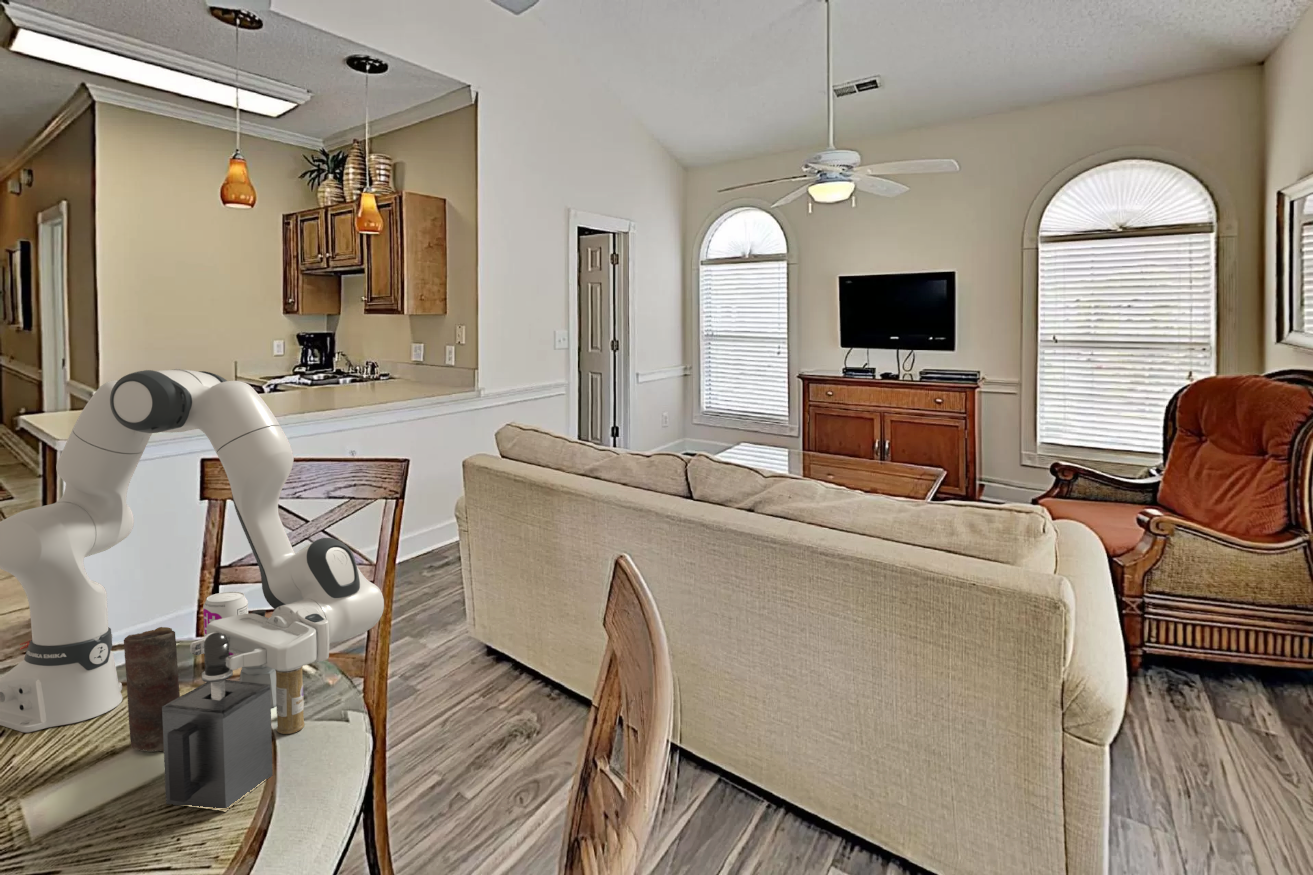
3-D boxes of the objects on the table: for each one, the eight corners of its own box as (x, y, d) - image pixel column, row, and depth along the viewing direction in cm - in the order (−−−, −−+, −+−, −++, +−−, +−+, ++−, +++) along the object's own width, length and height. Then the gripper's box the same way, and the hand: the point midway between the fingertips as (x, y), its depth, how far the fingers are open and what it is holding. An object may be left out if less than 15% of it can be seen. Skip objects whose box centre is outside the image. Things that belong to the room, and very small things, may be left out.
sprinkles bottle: (306, 730, 132) (305, 657, 131) (277, 737, 130) (276, 663, 128) (302, 720, 136) (301, 649, 135) (274, 726, 133) (272, 654, 132)
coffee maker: (291, 709, 140) (289, 616, 138) (238, 720, 135) (235, 624, 133) (280, 680, 152) (278, 595, 151) (230, 690, 147) (228, 602, 146)
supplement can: (218, 675, 154) (216, 605, 152) (197, 666, 158) (195, 597, 157) (257, 662, 161) (255, 595, 159) (236, 654, 165) (234, 588, 164)
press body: (147, 816, 107) (143, 716, 105) (216, 767, 119) (213, 678, 118) (209, 825, 105) (205, 724, 103) (272, 775, 118) (270, 684, 116)
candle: (125, 760, 121) (119, 641, 119) (132, 740, 127) (127, 627, 125) (180, 750, 124) (176, 635, 123) (185, 731, 131) (181, 621, 129)
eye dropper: (178, 782, 110) (173, 639, 108) (217, 756, 118) (212, 622, 116) (224, 788, 109) (219, 644, 107) (260, 761, 117) (256, 626, 114)
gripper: (257, 599, 128) (171, 622, 116) (334, 623, 118) (249, 650, 106) (257, 634, 128) (172, 661, 116) (334, 661, 118) (250, 693, 106)
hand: (210, 656), depth 111 cm, fingers open, 8 cm apart
